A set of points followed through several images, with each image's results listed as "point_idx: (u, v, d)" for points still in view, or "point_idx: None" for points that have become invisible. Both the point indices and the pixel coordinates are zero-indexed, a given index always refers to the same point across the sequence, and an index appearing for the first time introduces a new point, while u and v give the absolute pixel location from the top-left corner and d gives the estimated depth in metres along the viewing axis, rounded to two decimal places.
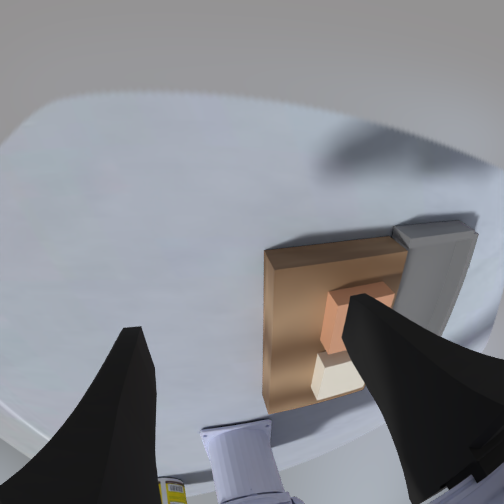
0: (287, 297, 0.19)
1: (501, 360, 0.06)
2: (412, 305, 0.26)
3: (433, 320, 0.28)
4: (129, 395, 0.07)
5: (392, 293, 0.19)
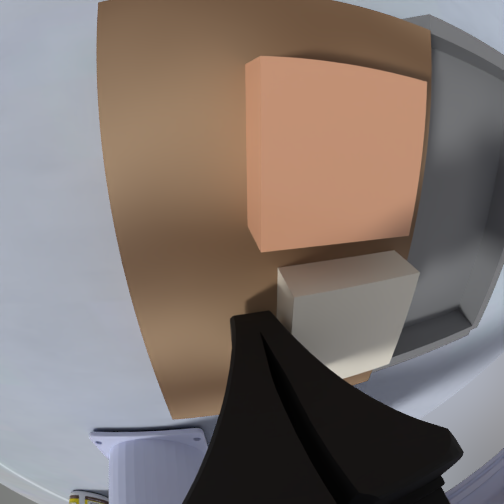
0: (131, 68, 0.06)
1: None
2: (452, 210, 0.13)
3: (483, 252, 0.15)
4: None
5: (420, 80, 0.06)
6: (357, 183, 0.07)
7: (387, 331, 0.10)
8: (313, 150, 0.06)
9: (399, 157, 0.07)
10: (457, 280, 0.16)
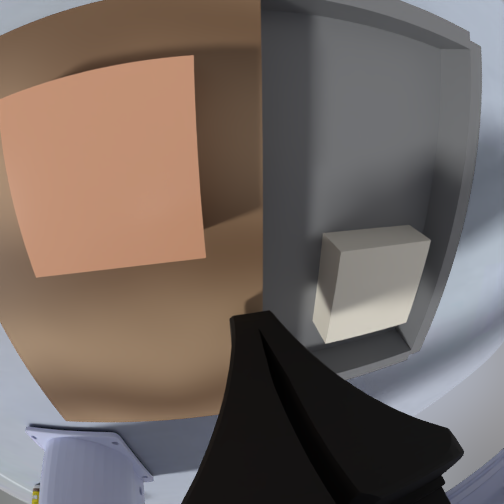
0: None
1: None
2: (362, 214, 0.12)
3: None
4: None
5: (185, 56, 0.05)
6: (105, 203, 0.06)
7: None
8: (49, 177, 0.05)
9: (158, 163, 0.06)
10: None
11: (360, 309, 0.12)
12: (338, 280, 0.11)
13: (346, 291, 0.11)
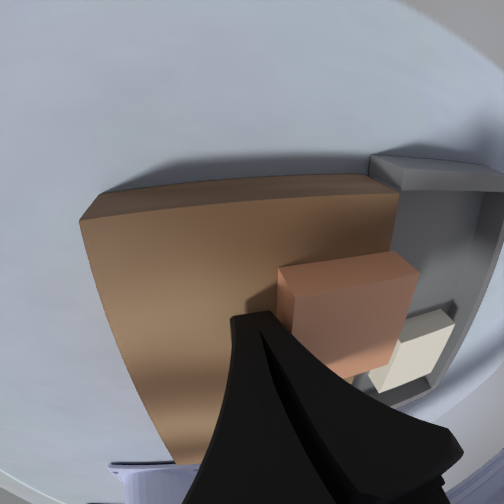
0: (122, 282, 0.09)
1: None
2: (412, 309, 0.16)
3: None
4: None
5: (415, 272, 0.09)
6: (353, 350, 0.10)
7: None
8: (325, 342, 0.09)
9: (386, 328, 0.10)
10: None
11: (404, 371, 0.16)
12: (395, 358, 0.15)
13: (399, 363, 0.15)
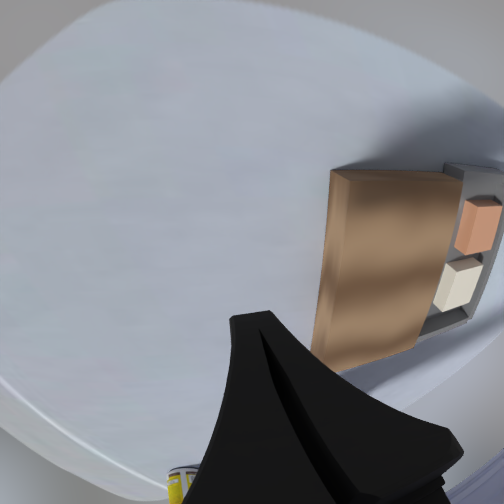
0: (359, 216, 0.17)
1: None
2: (459, 254, 0.24)
3: None
4: None
5: (466, 200, 0.21)
6: None
7: None
8: None
9: None
10: None
11: (456, 295, 0.24)
12: (453, 283, 0.23)
13: (454, 287, 0.23)
